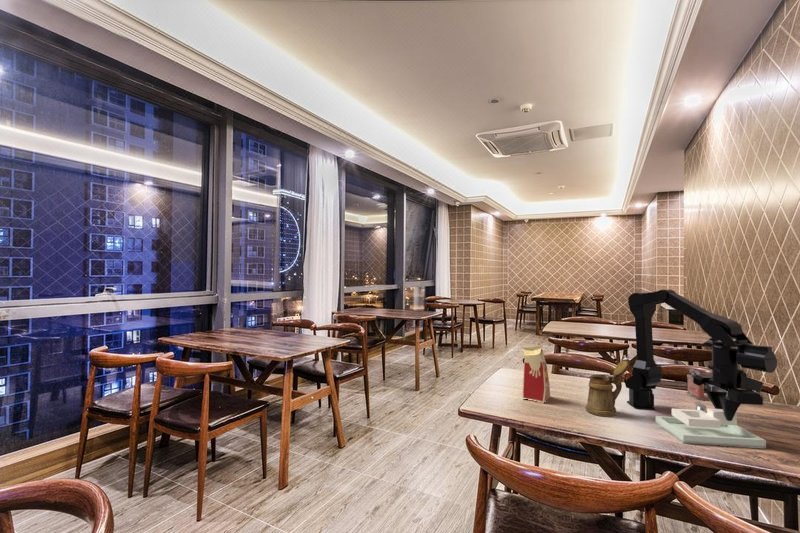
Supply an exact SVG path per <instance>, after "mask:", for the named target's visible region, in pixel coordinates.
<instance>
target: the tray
mask: <svg viewBox="0 0 800 533" xmlns="http://www.w3.org/2000/svg"><path fill="white" fill-rule="evenodd" d="M655 425H657V426H659V427H660V428H662V429H663V430H664V431H666V432H667V433H669V434H670V435H671V436H673V437H674V438H676V439H677V440H679V442H681V443H682V444H691V445H702V444H703V445H705V446H718V445H720V446H721V447H733V446H734V447H736V448H750V449H763V450H765V449H767V440H766V439H765V438H762V437H760V436H758V435H756V434H755V433H753V432H751V431H749V430H747V429H745V428H743V427H741V426H739V425H738V424H737V425H724V424H721V428H713V427H697V426H688V425H686V424H685V423H683V422H682V421H680V420H679V419H677V418H675V417H674V416H665V415H664V416H660V415H659V416H658V415H655ZM720 446H719V447H720Z"/></svg>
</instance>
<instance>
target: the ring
mask: <svg viewBox="0 0 800 533" xmlns="http://www.w3.org/2000/svg"><path fill="white" fill-rule="evenodd" d="M671 417H675V418H677V419H679V420H680V421H682V422H683V423H685V424H686V425H688V426H697V427H713V428H721V424H724V425H738V413H737V412H736V413H735V415H734V417H733V419H732V421H727V420H726V417H725V414H724V411H723V409H715V408H710V407H709V408H707V407H706V413H705V412H704V411H702V410H696V409H687V408H671Z"/></svg>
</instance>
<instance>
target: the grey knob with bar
mask: <svg viewBox="0 0 800 533" xmlns="http://www.w3.org/2000/svg"><path fill="white" fill-rule="evenodd" d="M694 405H695V410H702V411H704V412H705V413H707V405H705V404H704V403H702V402H701V401H694Z"/></svg>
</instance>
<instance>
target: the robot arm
mask: <svg viewBox="0 0 800 533" xmlns="http://www.w3.org/2000/svg"><path fill="white" fill-rule="evenodd" d="M627 302H628V307H629V312H630V313H631V314H632V316H633V317H634V326H635V328H634V329H635V331H634V332H635V346H636V347H635V350H636V351H635V352H636V360H635V361H634V364H633V366H632V371H631V376H630V377H628V378H627V379H626V380H624V385H625V388H626V389H628V400H627V401H626V403H627V404H628V405H630V406H631V407H632V408H634V409H637V410H638V409H639V410H642V409H643V410H656V407H655V394H654V393H653V392H654V391H653V390H656V388H657V386H658V385H659V384H660V383H661V382H662V379H663V374H662V371H663V367H662V366H661V365H657V362H656V361H655V357H654V341H653V336H654V335H653V320H652V319H653V316H654V314H656V313H655V312H656V311H657V310H656V309H657V305H661V304H665V305H667V306H669V307H670V308H672V309H673V310H675V311H677V312H678V313H681V314H682V315H683V316H685V317H687V318H689V319H690V320H691V321H693V322H695V323H697V325H698V326H699V327H700V328H701V330H702V331H703V332H704V333H705V334H707V335H708V336H709V337H710V338H709V339H708V340H706V341H705V342H703V343H702V345H703V346H705V347H711V364H708V365H707V368H708V369H709V370H711V374H701V375H696V376H694V377H693V383H694V384H696V385H698V386H701V385H702V384H704V385H705V388H704V389H703V390H704V393H705V394H706V395H707V397H708V399H709V400H710V402H711V404H712V406H713V407H714V409H723V411H724V414H725V417H726V420H727V421H732V419H733V417H734V415H735V413H737V411H738V409H739V408H740V406H741V405H755V406H756V405H757V406H763V405H764V396H762V394H761V391H762V388H763V386H764V382H763V381H761V380H757V379H755V378H752V377H749V376H748V374H747V373H746V372H744V370H743V369H742V368H744V369H748V370H753V371H759V372H763V373H769V374H772V373H774V372H775V371H776V368H777V366H778V359H777V356H776V353H775V352H773V347H772V346H771V345H769V346H768V345H758V344H754V343H753V342H752V341H751V340H750V338H749V337H748V336H747V335H746V334H745V333H744V331H743V329H742V325H741V324H740V323H739V322H738V321H736V320H733V319H731V318H728V317H725V316H723V315H719V314H715V313H713V312H710V311H709V310H706V309H705V308H703V307H701V306H699V305H697V304H696V303H694V302H693V301H691V300H690V299H688V298H685V297H684V296H682V295H680V294H679V293H676V291H675V290H673V289H660V290H655V291H651V292H633V293H631V294H630V295H629V296H628V298H627ZM739 366H741V369H740V368H739Z"/></svg>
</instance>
